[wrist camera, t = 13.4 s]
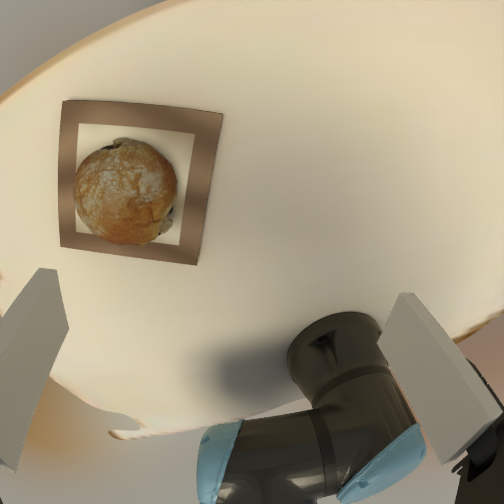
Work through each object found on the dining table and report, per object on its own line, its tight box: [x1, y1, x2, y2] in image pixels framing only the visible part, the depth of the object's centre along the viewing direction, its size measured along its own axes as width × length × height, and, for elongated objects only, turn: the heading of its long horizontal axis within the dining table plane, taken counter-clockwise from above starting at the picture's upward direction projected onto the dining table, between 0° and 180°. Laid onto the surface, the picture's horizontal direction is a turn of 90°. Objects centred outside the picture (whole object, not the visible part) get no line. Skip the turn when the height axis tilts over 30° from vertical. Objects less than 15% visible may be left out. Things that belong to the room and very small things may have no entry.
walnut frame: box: [58, 100, 223, 265], centre depth 30 cm, size 16×16×2 cm
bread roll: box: [73, 138, 178, 247], centre depth 27 cm, size 10×10×8 cm
